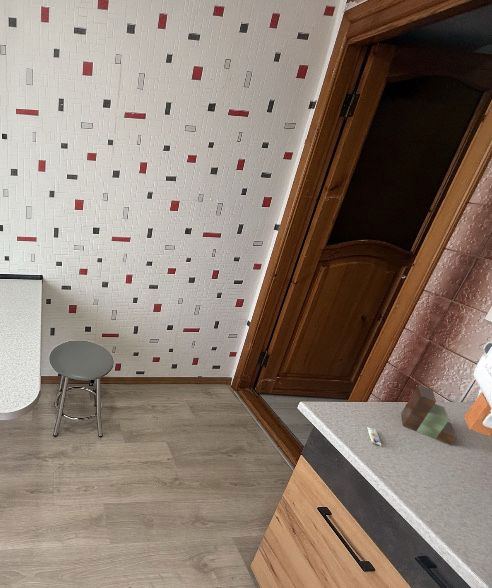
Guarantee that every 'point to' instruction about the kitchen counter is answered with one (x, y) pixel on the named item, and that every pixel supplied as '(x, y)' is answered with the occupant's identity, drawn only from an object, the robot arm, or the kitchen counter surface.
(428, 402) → the step rack
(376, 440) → the granola bar
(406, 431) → the kitchen counter surface
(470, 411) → the matte orange cuboid
